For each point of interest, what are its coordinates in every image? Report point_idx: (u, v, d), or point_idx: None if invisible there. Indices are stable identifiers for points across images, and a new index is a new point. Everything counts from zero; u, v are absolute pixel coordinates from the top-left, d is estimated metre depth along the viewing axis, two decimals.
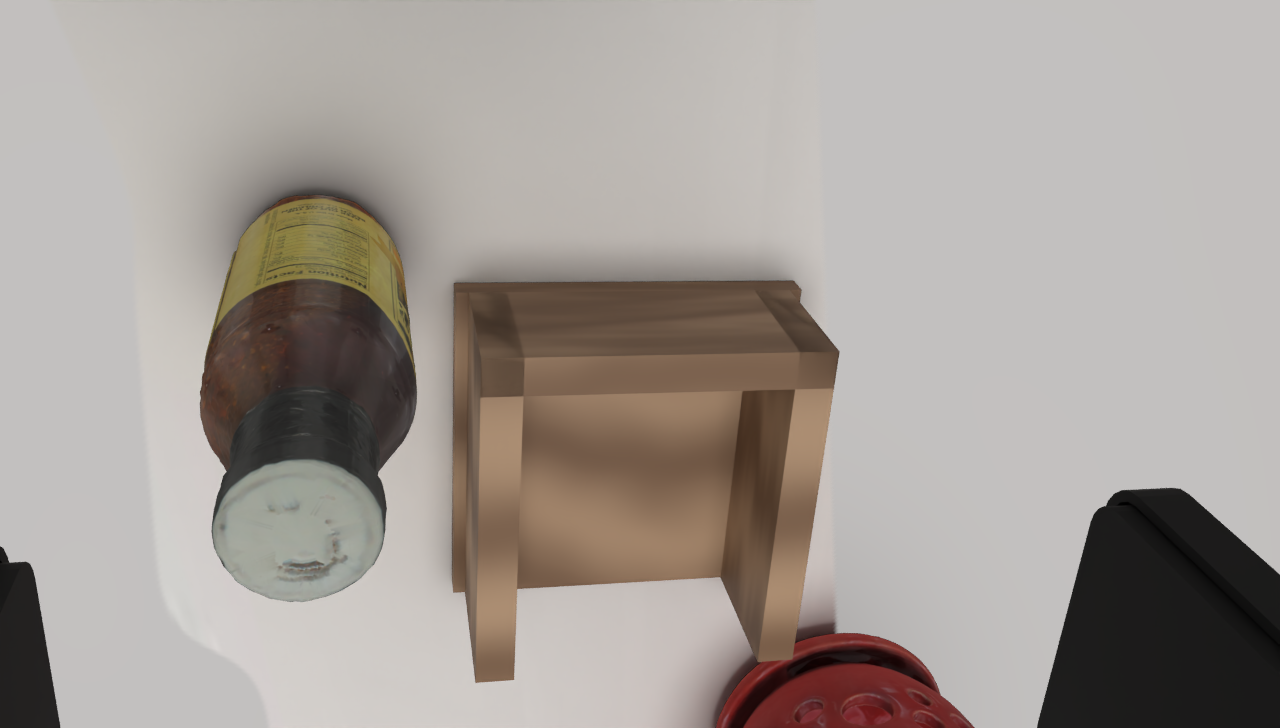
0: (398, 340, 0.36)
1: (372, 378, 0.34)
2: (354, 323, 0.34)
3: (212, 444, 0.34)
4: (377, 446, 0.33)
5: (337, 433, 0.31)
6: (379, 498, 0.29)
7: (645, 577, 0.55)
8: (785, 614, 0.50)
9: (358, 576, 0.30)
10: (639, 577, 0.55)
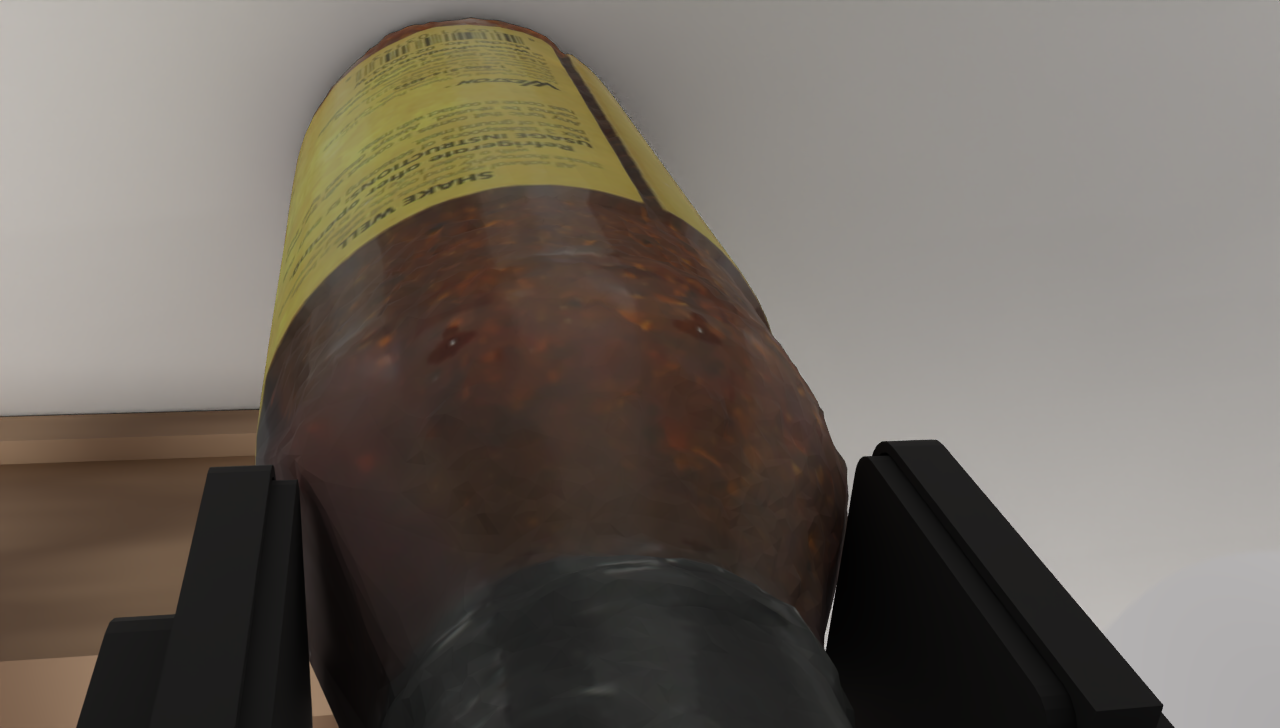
0: None
1: None
2: None
3: (517, 357, 0.10)
4: None
5: None
6: None
7: None
8: None
9: None
10: None
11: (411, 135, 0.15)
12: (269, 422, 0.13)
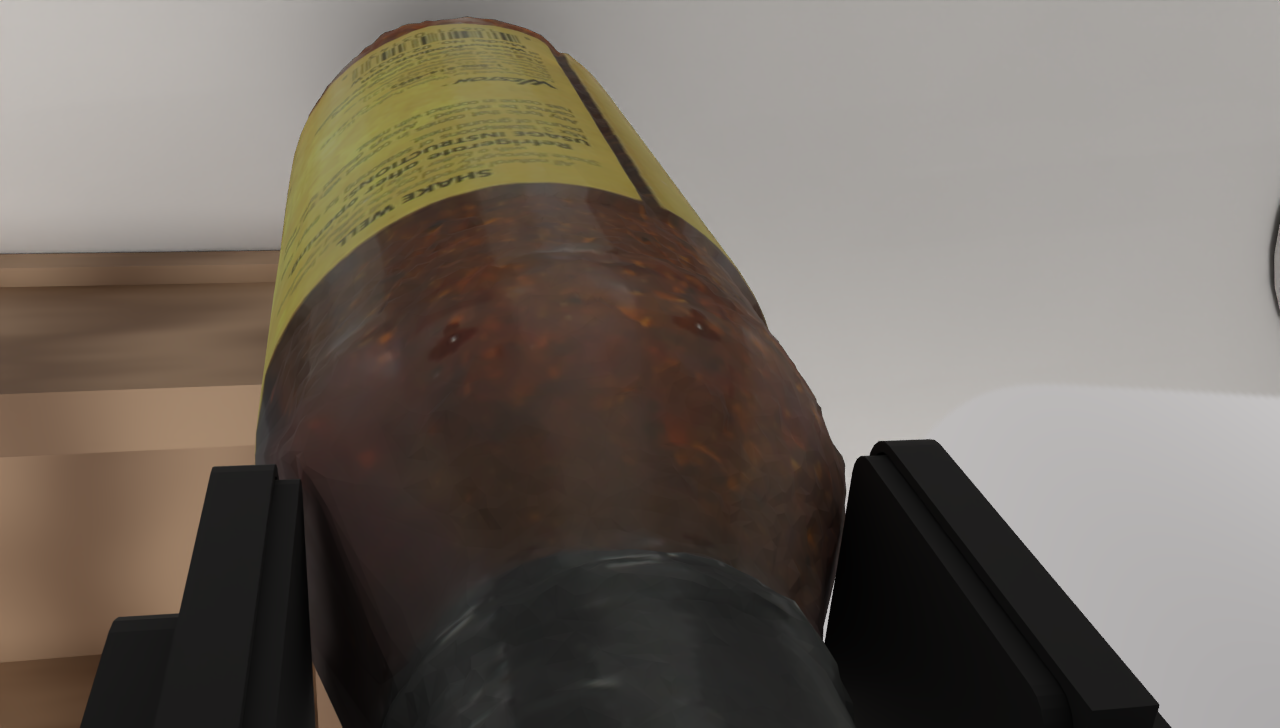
0: None
1: None
2: None
3: (518, 353, 0.10)
4: None
5: None
6: None
7: None
8: None
9: None
10: None
11: (409, 134, 0.15)
12: (269, 419, 0.13)
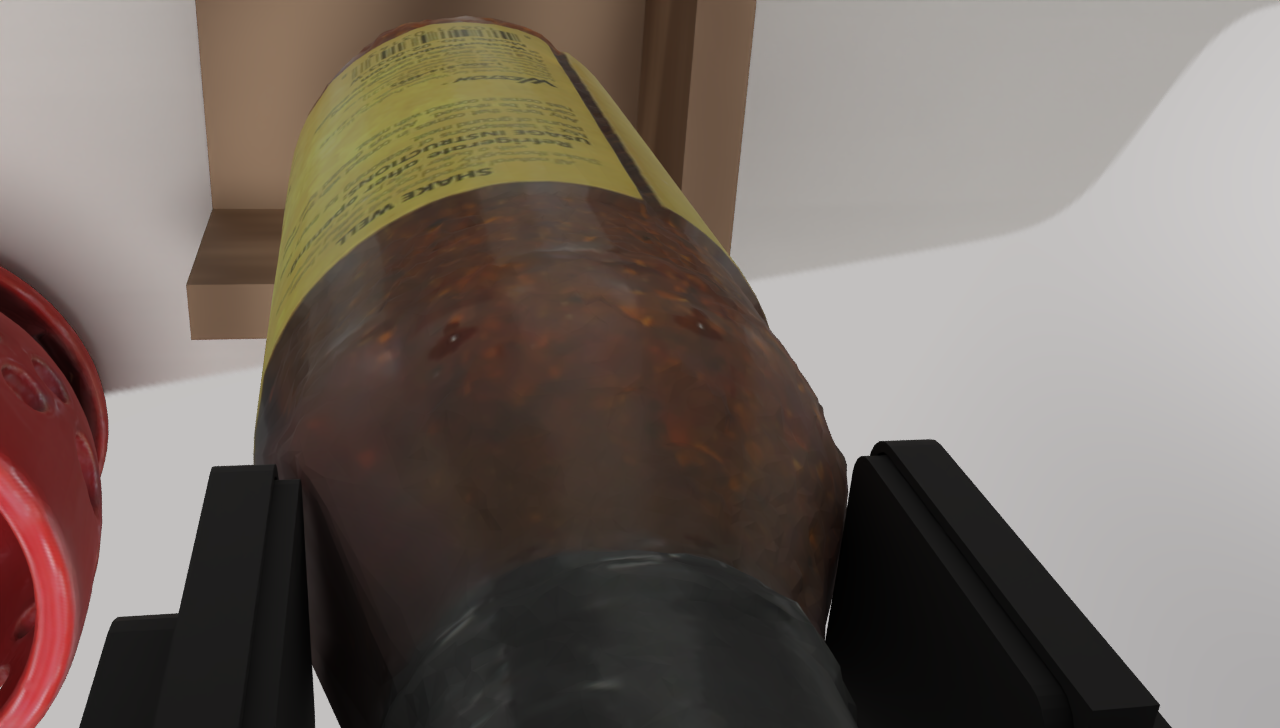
0: None
1: None
2: None
3: (518, 352, 0.10)
4: None
5: None
6: None
7: (211, 90, 0.34)
8: None
9: None
10: (210, 79, 0.34)
11: (409, 132, 0.15)
12: (268, 419, 0.13)
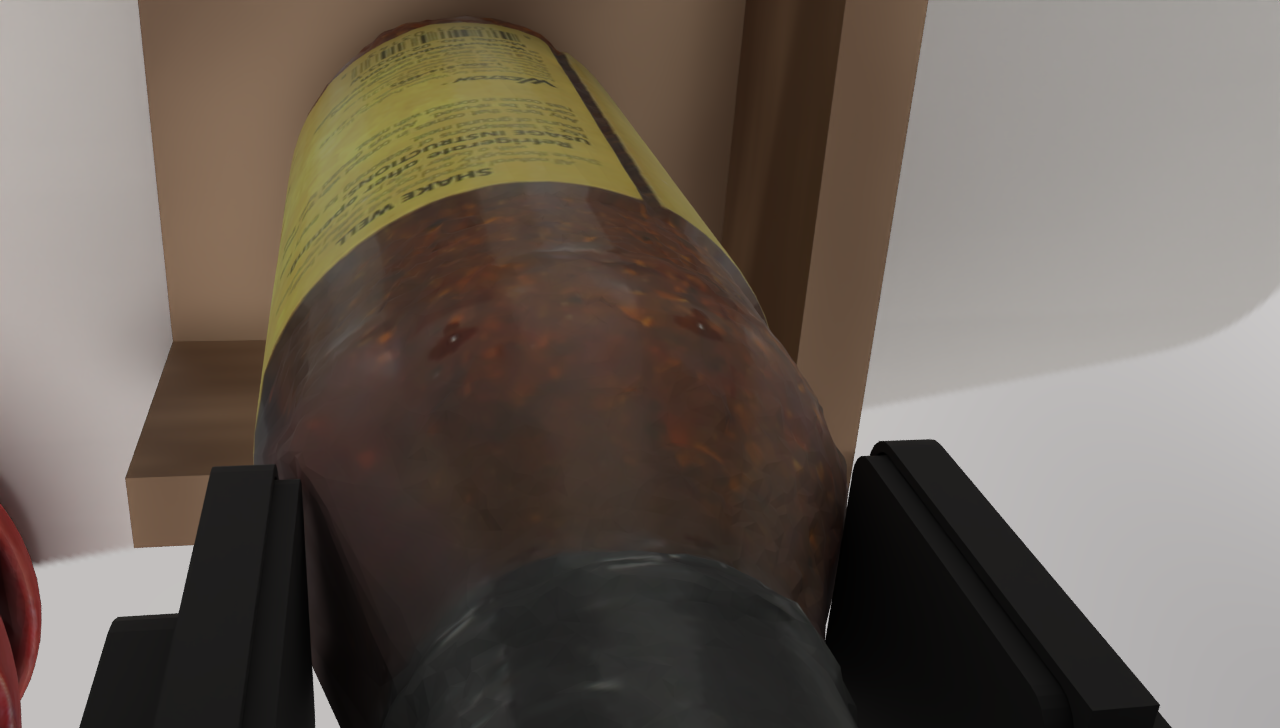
0: None
1: None
2: None
3: (518, 353, 0.10)
4: None
5: None
6: None
7: (169, 192, 0.26)
8: None
9: None
10: (167, 179, 0.26)
11: (408, 132, 0.15)
12: (268, 419, 0.13)
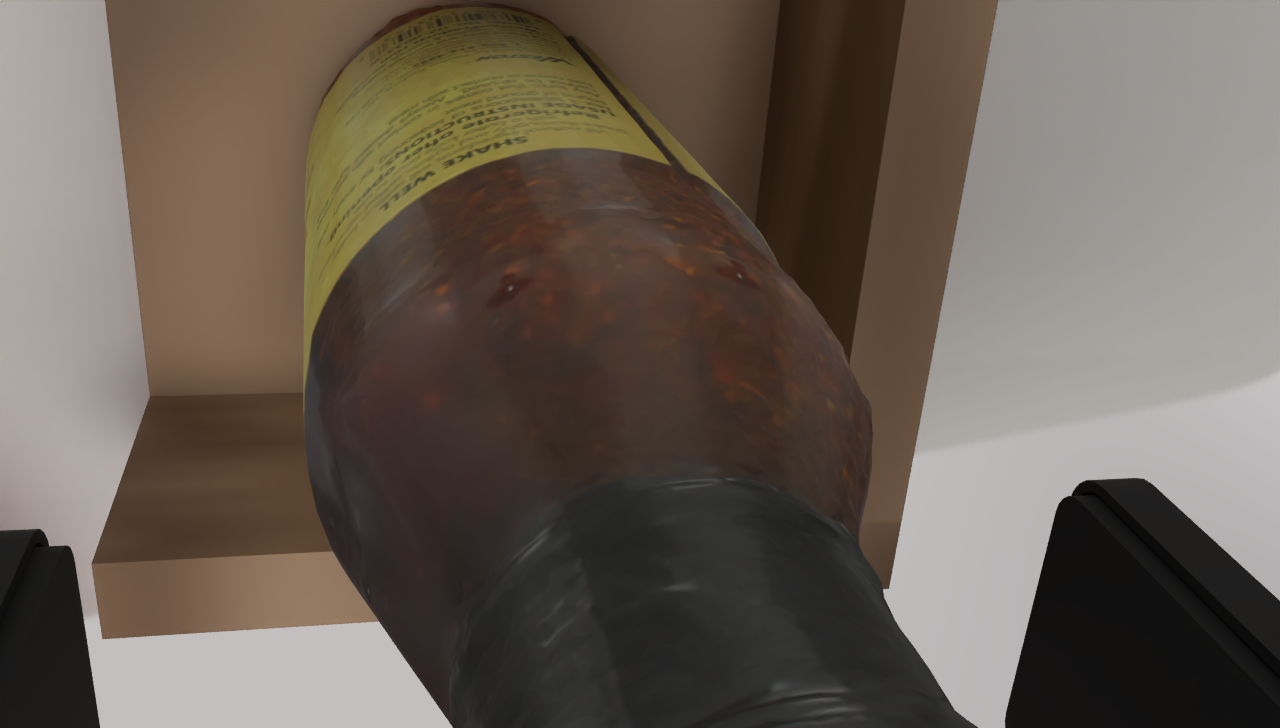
0: None
1: None
2: None
3: (573, 299, 0.11)
4: None
5: None
6: None
7: (144, 235, 0.24)
8: (245, 601, 0.21)
9: None
10: (143, 220, 0.24)
11: (438, 107, 0.16)
12: (319, 375, 0.14)
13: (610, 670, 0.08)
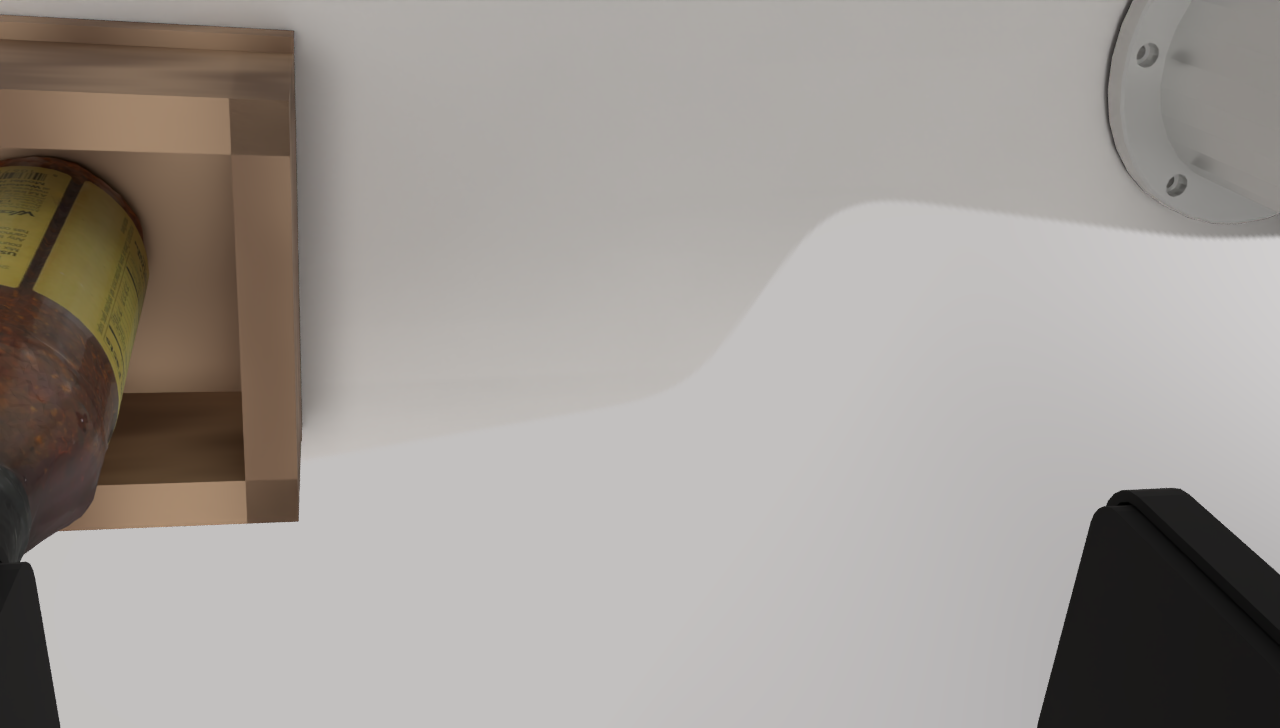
0: None
1: None
2: (92, 499, 0.28)
3: None
4: None
5: None
6: None
7: None
8: None
9: None
10: None
11: None
12: None
13: None
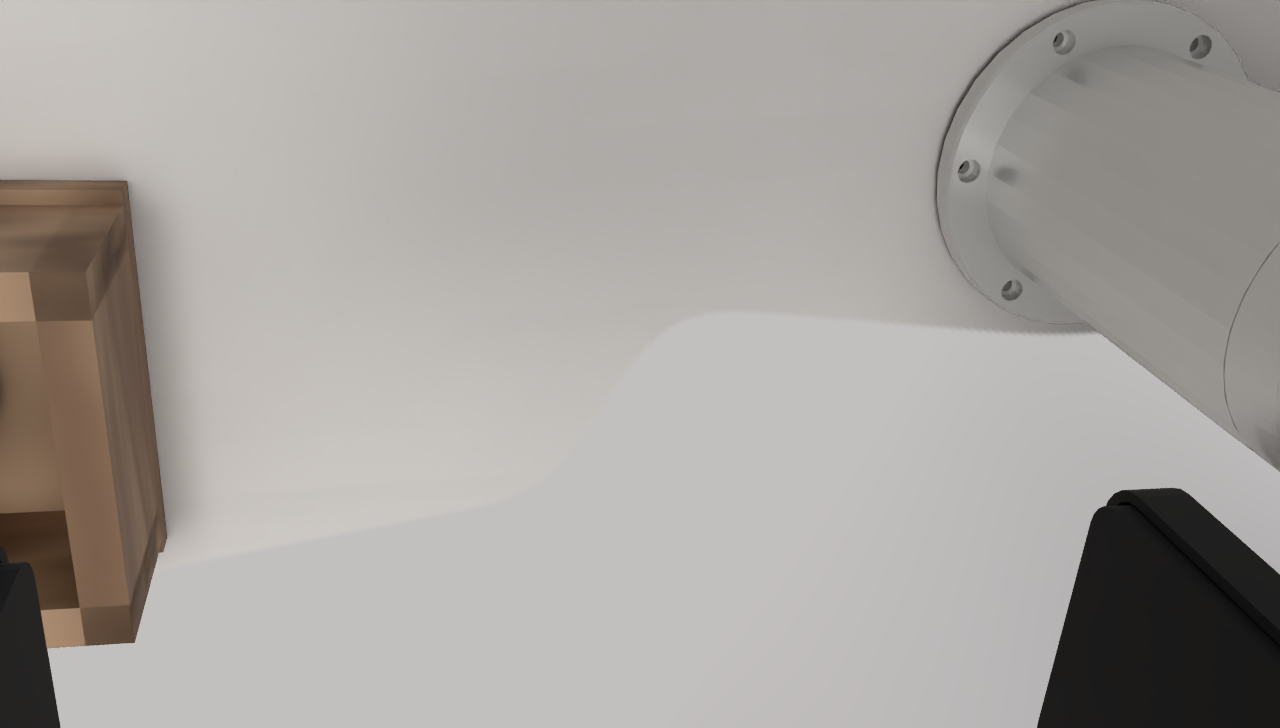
0: None
1: None
2: None
3: None
4: None
5: None
6: None
7: None
8: None
9: None
10: None
11: None
12: None
13: None
